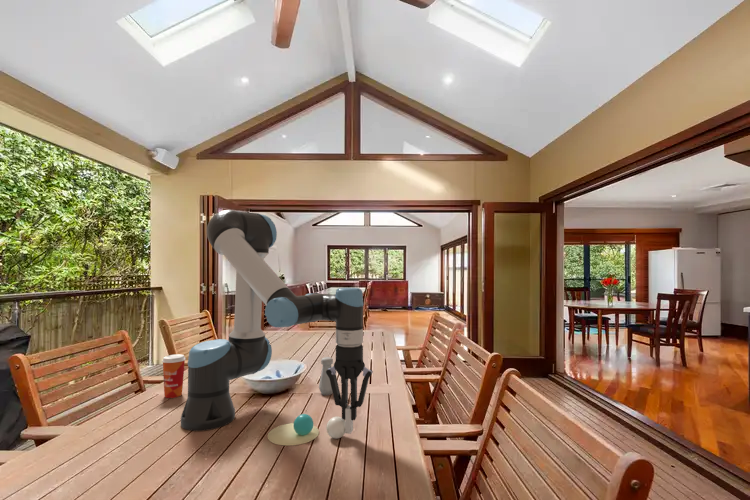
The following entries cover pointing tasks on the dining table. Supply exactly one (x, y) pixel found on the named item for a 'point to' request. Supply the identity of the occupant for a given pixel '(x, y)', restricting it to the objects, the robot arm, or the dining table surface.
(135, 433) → the dining table surface
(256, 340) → the robot arm
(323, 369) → the salt shaker
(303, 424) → the teal ball
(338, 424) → the cue ball
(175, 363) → the paper cup
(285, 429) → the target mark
